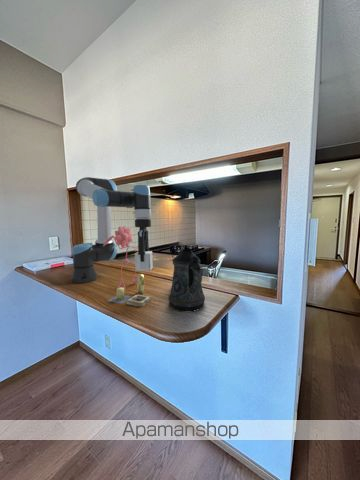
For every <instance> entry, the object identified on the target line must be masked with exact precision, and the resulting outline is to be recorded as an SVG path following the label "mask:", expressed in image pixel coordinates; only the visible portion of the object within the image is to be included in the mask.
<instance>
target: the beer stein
mask: <svg viewBox="0 0 360 480" xmlns="http://www.w3.org/2000/svg"><path fill="white" fill-rule="evenodd" d="M175 256H176V257H175V258H173V259H172V265H173V273H172V281H171V289H170V292H169V294H168V297H167V299H168V303H169V307H170V308H171V309H173V310H175V311H177V310H178V311H177V312H182V311H191V312H195V311H194V310H196V311H198V310H197V309H199V310H200V308H201V307H202V308H203V307H204V305H205V301H206V296H205V294H204V291H203V287H202V282H203V270H202V267H201V265H200V264H201V259H200V257H198V256H197V254H195V253H194V252H193V250H192V249H181V252H180V253H179V254H177V255H175ZM202 308H201V309H202Z"/></svg>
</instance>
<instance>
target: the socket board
mask: <svg viewBox="0 0 360 480" xmlns="http://www.w3.org/2000/svg"><path fill="white" fill-rule="evenodd" d="M132 296H133V295H132ZM150 301H152V296H151V295H150V296H149V295H144V294H138V293H137V294H135V295H134V296H133V297H132V298H130V299H128V300H127V301H126V305H130V306H135V307H143V306H145V305H146V304H147V303H149V302H150Z"/></svg>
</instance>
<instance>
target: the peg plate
mask: <svg viewBox="0 0 360 480" xmlns="http://www.w3.org/2000/svg"><path fill="white" fill-rule="evenodd" d="M115 290H116V295H115V296H113V297H112V298H109V299H108V300H107V302H109V303H110V302H111V303H115V304H121V305H123V304H124V303H127V300H128V299H130V298H132V297H133V295H125V288H124V286H123V287H122V286H121V287H120V286H119V288H116V289H115Z"/></svg>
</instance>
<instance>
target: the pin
mask: <svg viewBox="0 0 360 480" xmlns="http://www.w3.org/2000/svg"><path fill="white" fill-rule="evenodd" d="M136 275H137V281H136V285H137V290H136V291H137V294H138V295H144V294H145V274H143V273H138V274H136Z"/></svg>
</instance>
